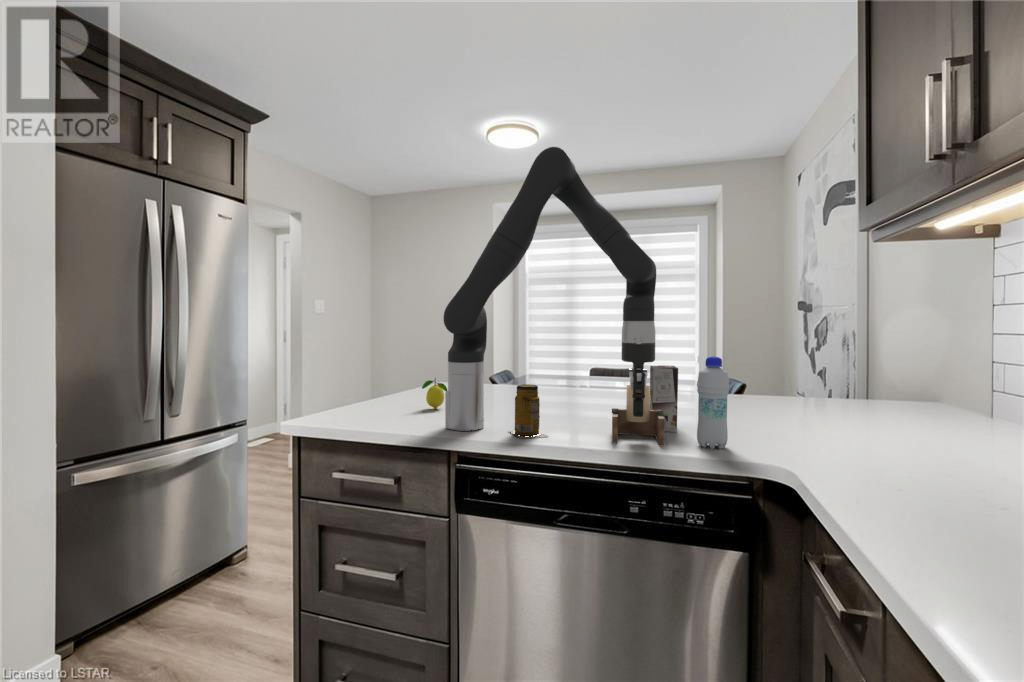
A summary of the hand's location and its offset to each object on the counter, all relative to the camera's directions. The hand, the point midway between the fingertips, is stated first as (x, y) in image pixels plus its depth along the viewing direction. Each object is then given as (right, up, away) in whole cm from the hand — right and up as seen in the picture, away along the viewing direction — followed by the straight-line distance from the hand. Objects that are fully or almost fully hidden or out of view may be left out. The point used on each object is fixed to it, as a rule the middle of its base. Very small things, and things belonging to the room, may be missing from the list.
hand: (637, 413), depth 117 cm
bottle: (+15, -7, -5) cm, 17 cm away
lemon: (-53, -5, +42) cm, 68 cm away
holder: (0, -6, +2) cm, 7 cm away
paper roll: (0, -1, 0) cm, 1 cm away
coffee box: (+10, -6, +14) cm, 19 cm away
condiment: (-25, -6, +7) cm, 27 cm away
